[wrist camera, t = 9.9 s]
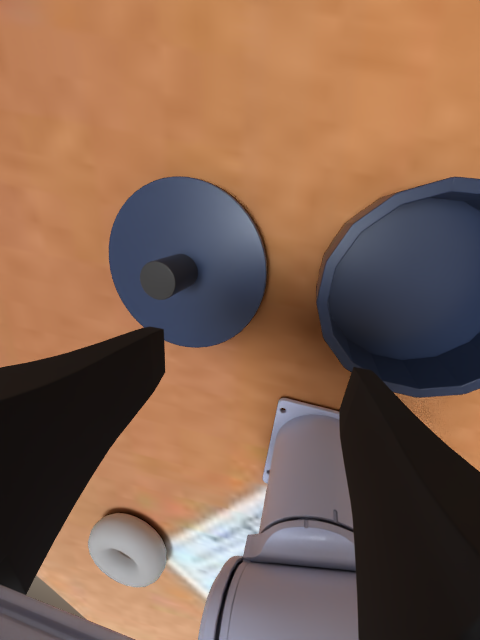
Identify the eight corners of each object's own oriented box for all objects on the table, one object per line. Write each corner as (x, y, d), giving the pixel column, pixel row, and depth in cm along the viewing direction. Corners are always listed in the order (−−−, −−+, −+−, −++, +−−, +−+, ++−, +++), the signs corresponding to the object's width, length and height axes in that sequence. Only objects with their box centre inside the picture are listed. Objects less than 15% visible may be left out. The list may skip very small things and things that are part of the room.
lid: (255, 356, 22) (242, 388, 18) (121, 325, 24) (81, 348, 20) (282, 188, 18) (272, 179, 13) (113, 170, 20) (60, 157, 16)
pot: (469, 379, 19) (507, 419, 15) (302, 344, 21) (300, 370, 17) (561, 199, 14) (644, 193, 11) (340, 177, 17) (347, 166, 13)
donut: (167, 572, 36) (176, 528, 32) (153, 605, 33) (161, 562, 29) (101, 540, 38) (102, 494, 34) (81, 569, 35) (80, 523, 31)
